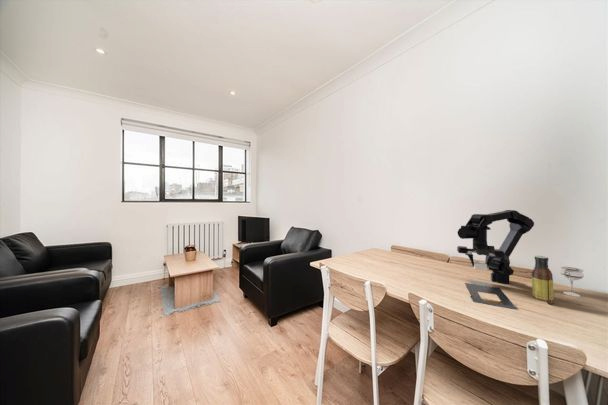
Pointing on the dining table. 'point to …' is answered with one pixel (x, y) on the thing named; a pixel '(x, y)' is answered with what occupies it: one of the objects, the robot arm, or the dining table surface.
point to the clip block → (480, 265)
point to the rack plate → (476, 297)
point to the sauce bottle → (542, 280)
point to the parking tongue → (480, 283)
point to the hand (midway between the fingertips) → (479, 267)
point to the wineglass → (572, 277)
